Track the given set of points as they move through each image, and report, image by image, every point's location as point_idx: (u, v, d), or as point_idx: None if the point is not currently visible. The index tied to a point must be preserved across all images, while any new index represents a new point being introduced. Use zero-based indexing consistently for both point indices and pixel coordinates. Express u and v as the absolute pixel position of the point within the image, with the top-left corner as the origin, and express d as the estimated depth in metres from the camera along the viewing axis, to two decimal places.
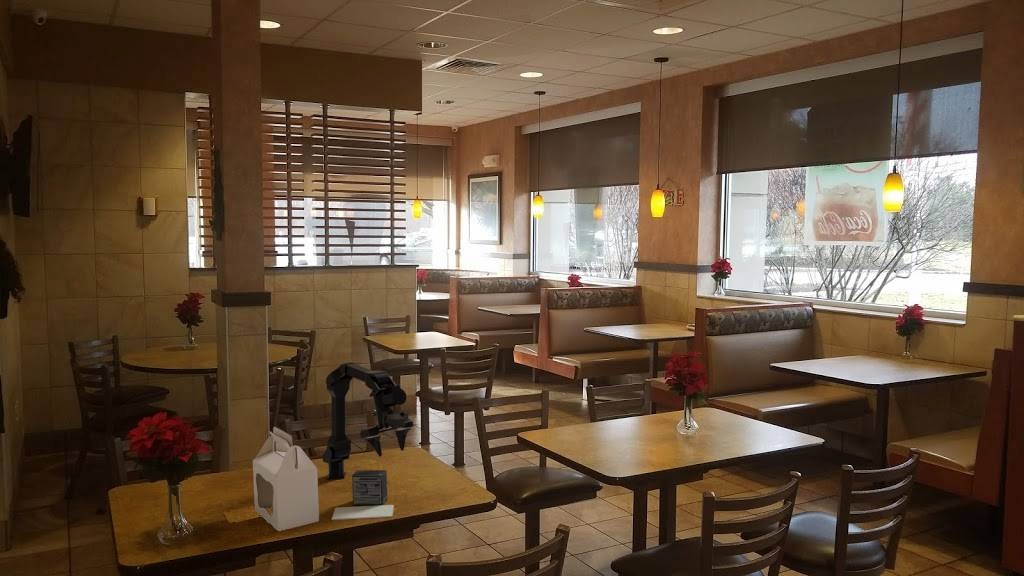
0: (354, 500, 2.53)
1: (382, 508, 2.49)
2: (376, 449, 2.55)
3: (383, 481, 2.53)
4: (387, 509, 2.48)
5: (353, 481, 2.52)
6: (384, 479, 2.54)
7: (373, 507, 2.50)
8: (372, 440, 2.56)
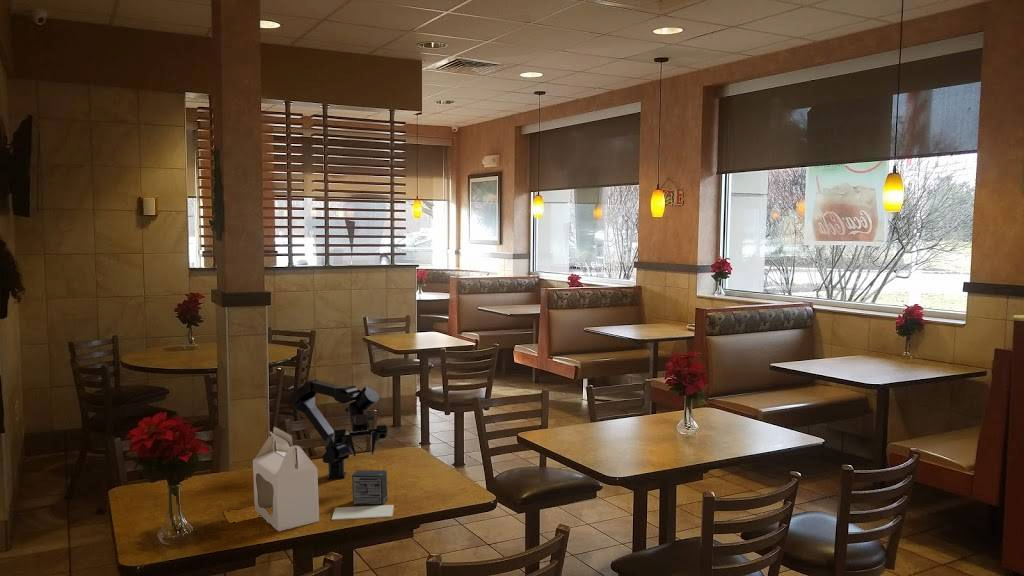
0: (354, 500, 2.53)
1: (382, 508, 2.49)
2: (351, 450, 2.65)
3: (383, 481, 2.53)
4: (387, 509, 2.48)
5: (353, 481, 2.53)
6: (384, 479, 2.54)
7: (373, 507, 2.50)
8: (348, 443, 2.67)
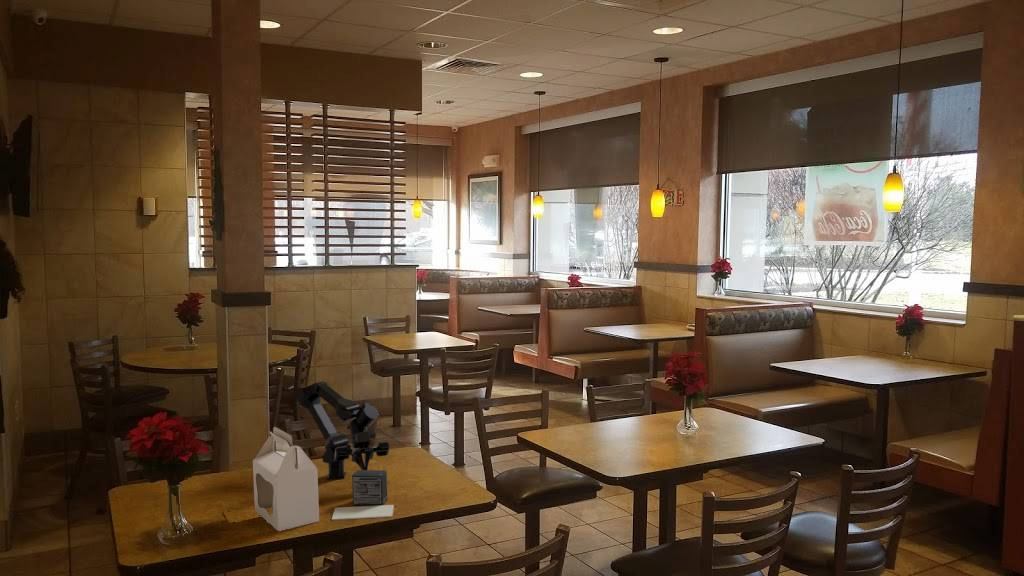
0: (354, 500, 2.53)
1: (382, 508, 2.49)
2: (361, 467, 2.64)
3: (383, 481, 2.53)
4: (387, 509, 2.48)
5: (353, 481, 2.53)
6: (384, 479, 2.54)
7: (373, 507, 2.50)
8: (358, 460, 2.67)
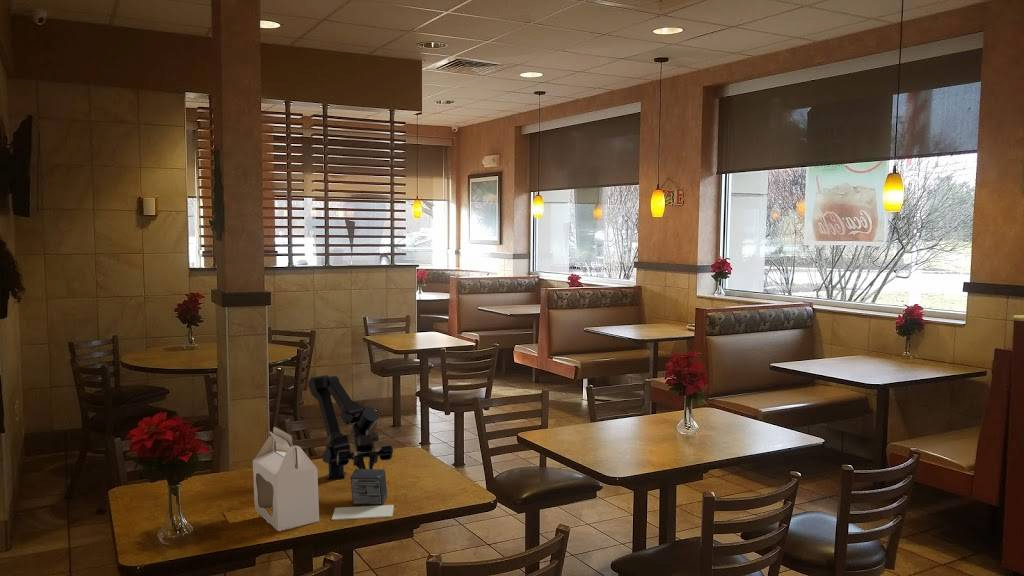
0: (354, 500, 2.52)
1: (382, 508, 2.49)
2: None
3: (382, 482, 2.51)
4: (387, 509, 2.48)
5: (352, 483, 2.51)
6: (383, 479, 2.53)
7: (373, 507, 2.50)
8: (359, 464, 2.61)
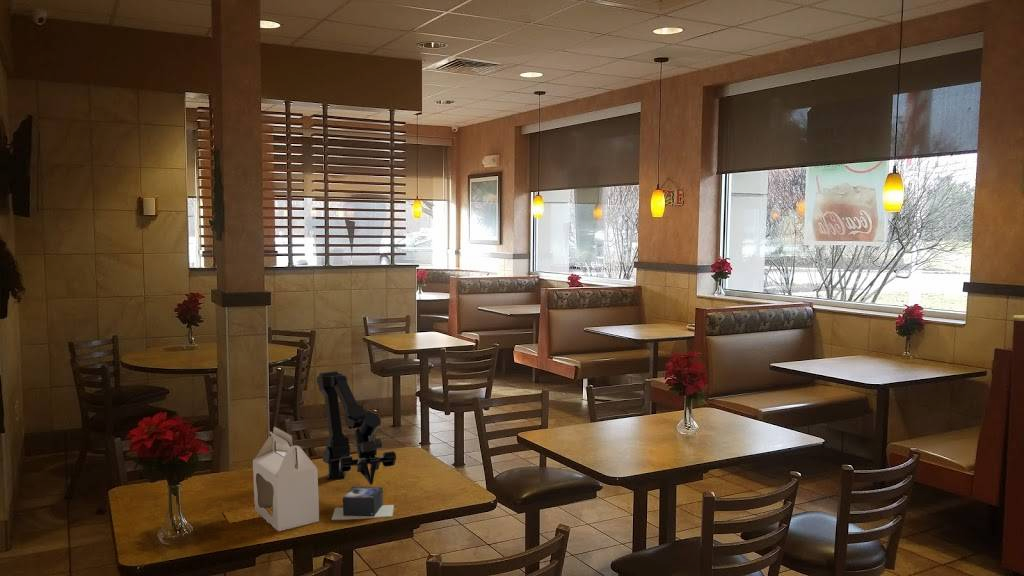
0: None
1: (382, 508, 2.49)
2: (366, 478, 2.54)
3: (376, 508, 2.44)
4: (387, 509, 2.48)
5: None
6: (376, 505, 2.44)
7: None
8: (363, 470, 2.56)
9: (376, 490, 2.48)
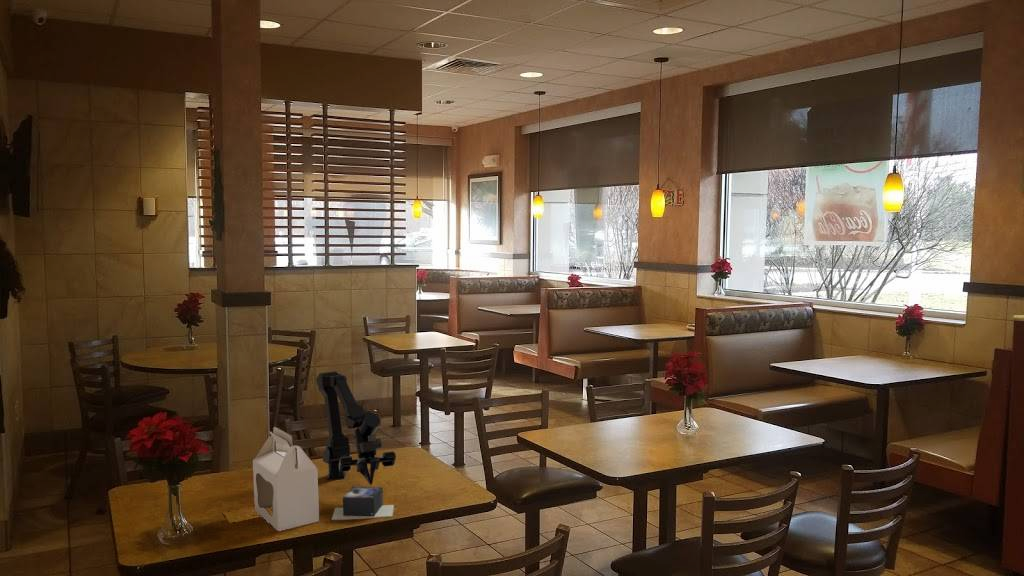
0: None
1: (382, 508, 2.49)
2: (366, 478, 2.54)
3: (376, 508, 2.44)
4: (387, 509, 2.48)
5: None
6: (376, 505, 2.44)
7: None
8: (363, 470, 2.57)
9: (376, 490, 2.48)
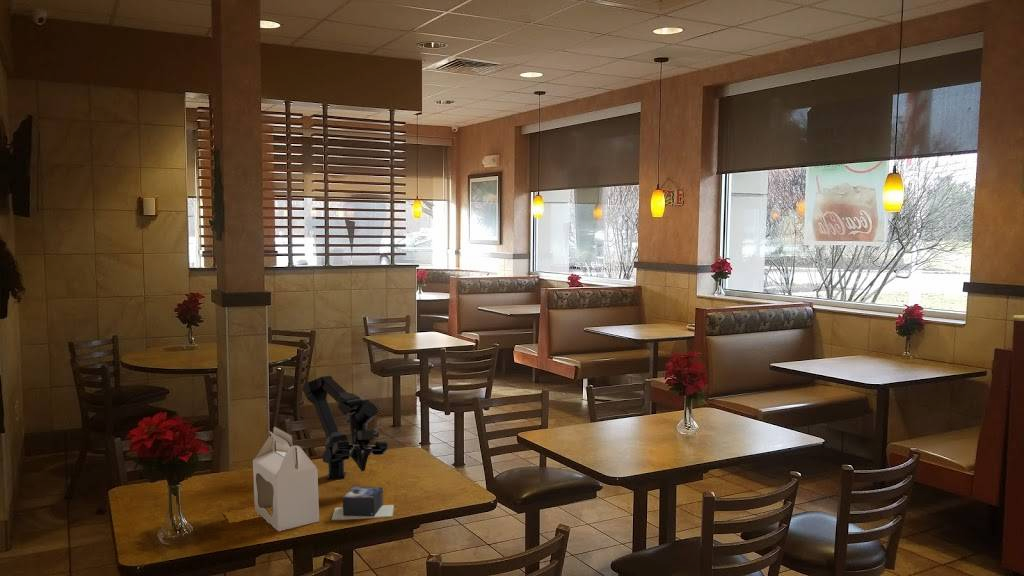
0: None
1: (382, 508, 2.49)
2: (358, 464, 2.62)
3: (376, 508, 2.44)
4: (387, 509, 2.48)
5: None
6: (376, 505, 2.44)
7: None
8: (355, 456, 2.64)
9: (376, 490, 2.48)
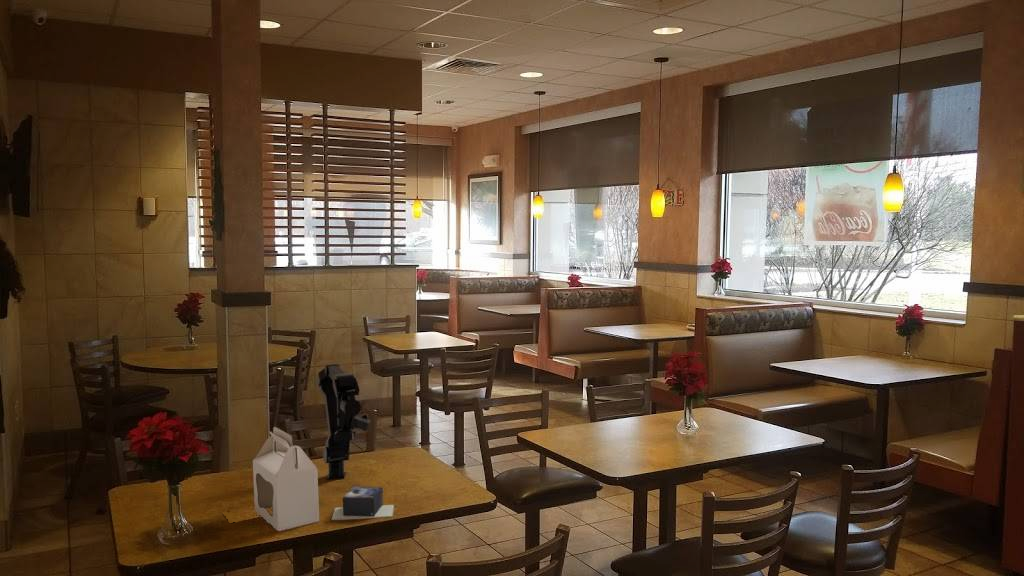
0: None
1: (382, 508, 2.49)
2: (345, 447, 2.66)
3: (376, 508, 2.44)
4: (387, 509, 2.48)
5: None
6: (376, 505, 2.44)
7: None
8: None
9: (376, 490, 2.48)
